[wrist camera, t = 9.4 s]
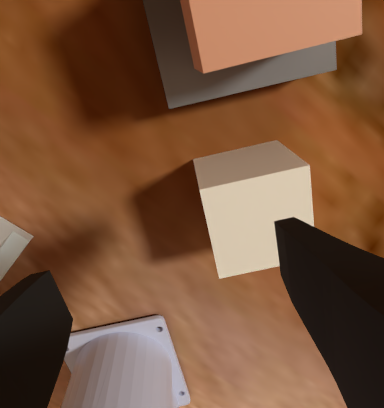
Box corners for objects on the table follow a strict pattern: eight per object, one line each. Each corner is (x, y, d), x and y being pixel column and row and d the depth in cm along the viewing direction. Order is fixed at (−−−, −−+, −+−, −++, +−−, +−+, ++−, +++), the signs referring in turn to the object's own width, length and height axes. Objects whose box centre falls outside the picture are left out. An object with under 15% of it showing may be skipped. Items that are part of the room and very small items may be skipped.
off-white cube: (285, 215, 21) (316, 258, 17) (209, 231, 21) (219, 278, 17) (276, 139, 19) (309, 165, 15) (192, 158, 19) (199, 189, 15)
